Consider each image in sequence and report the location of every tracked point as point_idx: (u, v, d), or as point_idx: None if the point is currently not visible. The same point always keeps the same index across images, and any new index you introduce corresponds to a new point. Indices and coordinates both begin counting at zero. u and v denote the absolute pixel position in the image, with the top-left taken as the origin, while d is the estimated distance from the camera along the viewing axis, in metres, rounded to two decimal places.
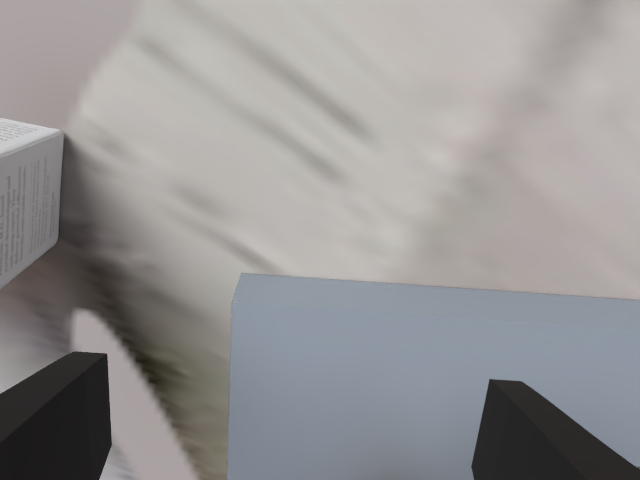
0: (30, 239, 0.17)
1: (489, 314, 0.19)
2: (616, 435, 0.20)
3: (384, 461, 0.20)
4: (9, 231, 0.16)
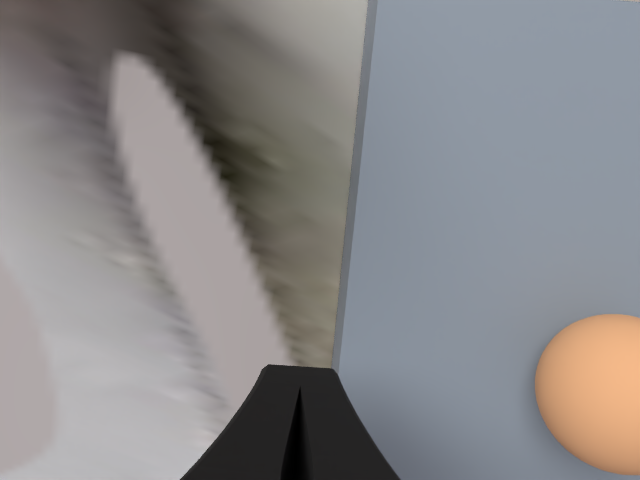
0: None
1: None
2: None
3: (585, 273, 0.13)
4: None
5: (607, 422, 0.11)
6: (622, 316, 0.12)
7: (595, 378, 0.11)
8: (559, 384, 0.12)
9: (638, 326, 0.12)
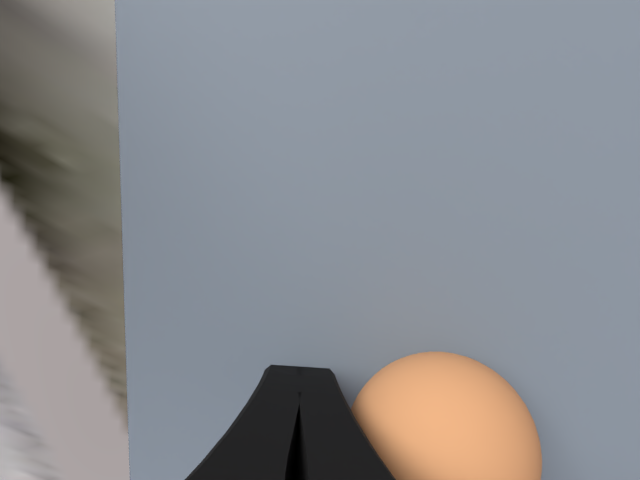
0: None
1: None
2: None
3: (415, 299, 0.11)
4: None
5: None
6: (441, 356, 0.10)
7: (388, 441, 0.09)
8: None
9: (453, 371, 0.09)
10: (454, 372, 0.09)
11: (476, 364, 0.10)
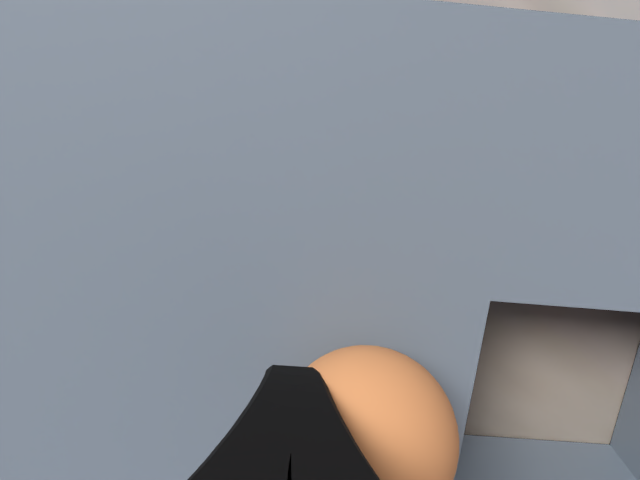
0: None
1: None
2: (460, 237, 0.11)
3: (48, 286, 0.11)
4: None
5: None
6: (396, 379, 0.10)
7: None
8: None
9: (377, 360, 0.10)
10: (375, 360, 0.10)
11: (363, 384, 0.09)
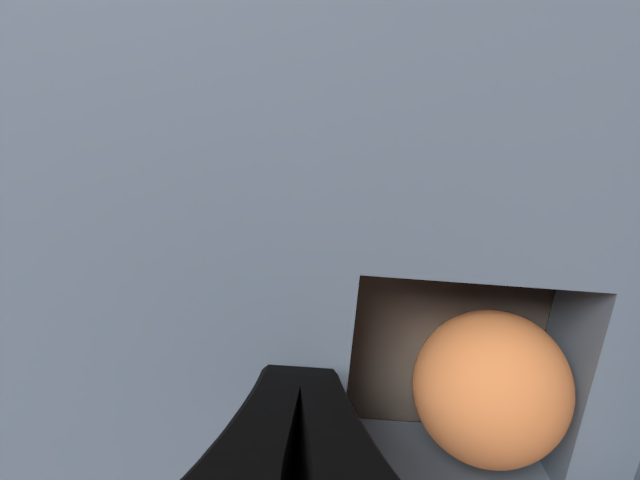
0: None
1: None
2: (321, 206, 0.10)
3: None
4: None
5: None
6: (484, 336, 0.11)
7: (567, 380, 0.11)
8: (560, 419, 0.11)
9: (504, 326, 0.11)
10: (504, 326, 0.11)
11: (473, 320, 0.12)
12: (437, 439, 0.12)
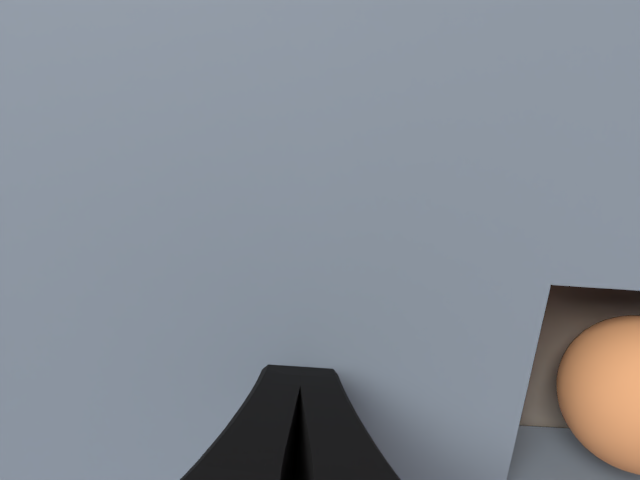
0: None
1: None
2: (521, 216, 0.10)
3: (81, 275, 0.11)
4: None
5: None
6: (638, 340, 0.11)
7: None
8: None
9: None
10: None
11: (626, 323, 0.12)
12: (581, 436, 0.12)
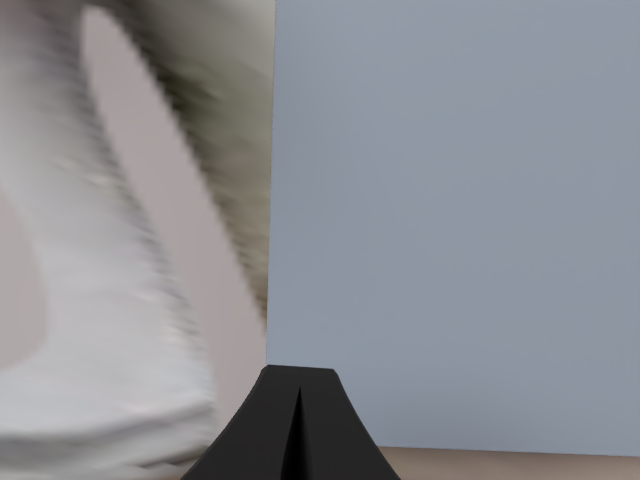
0: None
1: None
2: None
3: (459, 170, 0.17)
4: None
5: None
6: None
7: None
8: None
9: None
10: None
11: None
12: None
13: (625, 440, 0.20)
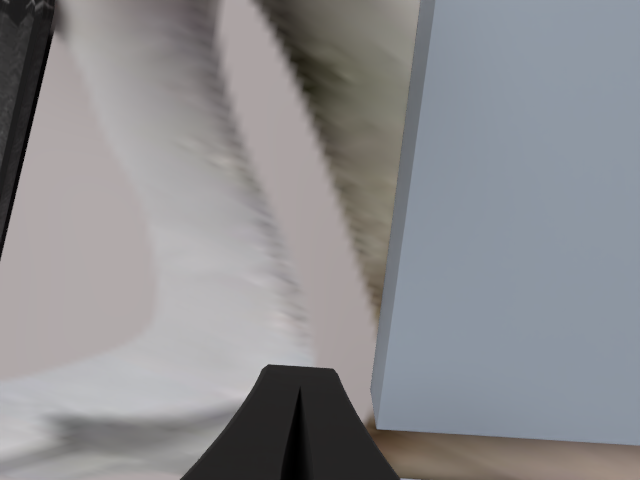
0: None
1: None
2: None
3: (602, 158, 0.17)
4: None
5: None
6: None
7: None
8: None
9: None
10: None
11: None
12: None
13: None
